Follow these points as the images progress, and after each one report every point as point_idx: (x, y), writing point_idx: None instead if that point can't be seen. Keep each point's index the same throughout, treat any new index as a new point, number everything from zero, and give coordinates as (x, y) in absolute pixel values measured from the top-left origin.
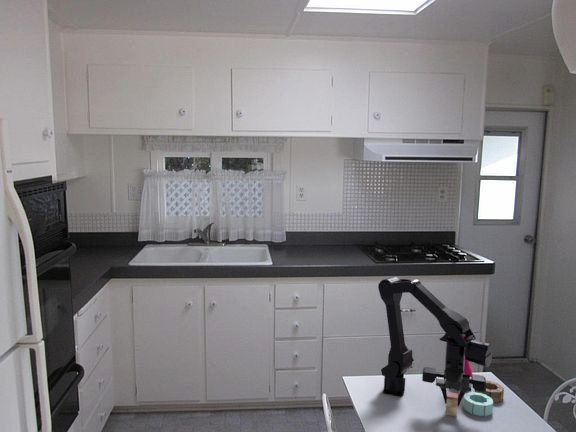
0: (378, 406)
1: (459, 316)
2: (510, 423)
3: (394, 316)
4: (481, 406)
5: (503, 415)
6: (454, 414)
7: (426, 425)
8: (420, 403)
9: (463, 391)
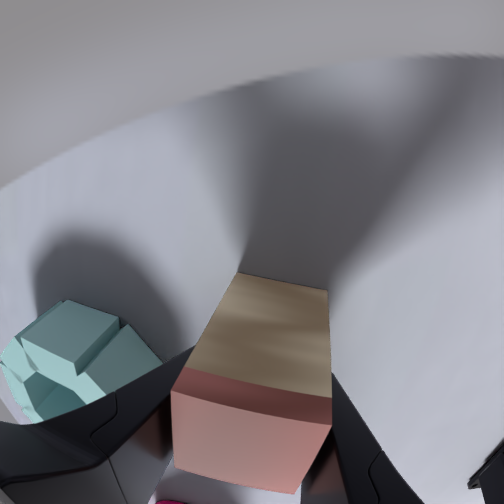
0: None
1: None
2: None
3: None
4: (38, 338)
5: (6, 316)
6: (252, 283)
7: None
8: (461, 397)
9: (27, 444)
